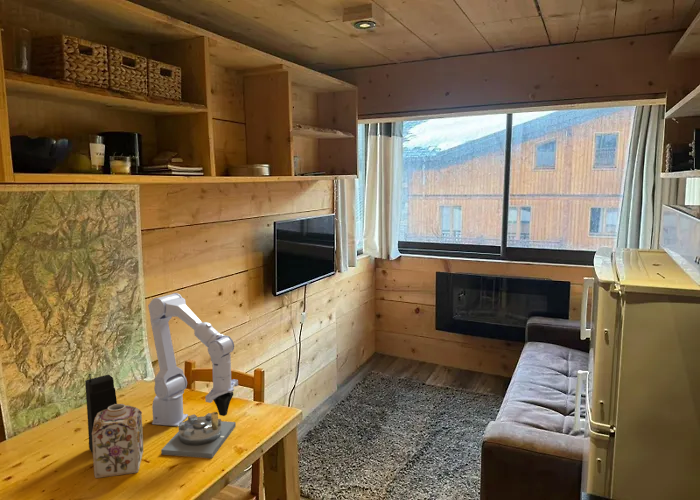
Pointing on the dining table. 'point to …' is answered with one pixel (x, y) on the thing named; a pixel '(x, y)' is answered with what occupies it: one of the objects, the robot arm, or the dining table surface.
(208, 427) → the notched steel disc
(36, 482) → the dining table surface
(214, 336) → the robot arm
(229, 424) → the base plate
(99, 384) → the portable radio
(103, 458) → the decorative jar
